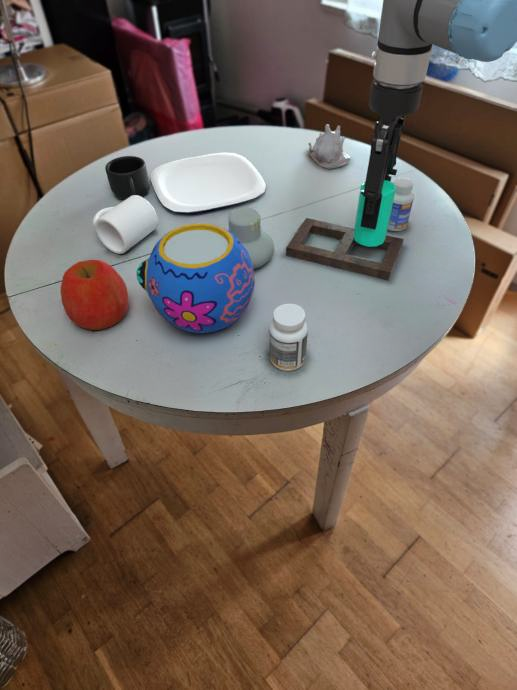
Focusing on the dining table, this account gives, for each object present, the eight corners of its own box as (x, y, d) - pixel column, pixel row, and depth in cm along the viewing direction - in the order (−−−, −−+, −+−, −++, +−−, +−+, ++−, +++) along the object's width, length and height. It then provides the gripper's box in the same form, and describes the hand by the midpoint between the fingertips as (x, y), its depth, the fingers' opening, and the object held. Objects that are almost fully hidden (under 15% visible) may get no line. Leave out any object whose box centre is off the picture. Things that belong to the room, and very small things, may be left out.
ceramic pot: (193, 272, 91) (182, 201, 80) (274, 301, 84) (274, 230, 73) (134, 328, 81) (112, 256, 70) (220, 367, 74) (211, 295, 63)
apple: (107, 286, 88) (91, 238, 80) (145, 310, 83) (132, 262, 76) (58, 317, 83) (36, 269, 75) (96, 346, 78) (76, 297, 70)
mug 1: (110, 188, 113) (102, 159, 108) (147, 181, 115) (141, 152, 110) (117, 213, 106) (109, 183, 100) (156, 205, 107) (151, 176, 102)
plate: (240, 153, 124) (239, 147, 123) (276, 200, 108) (276, 193, 106) (145, 171, 118) (143, 165, 117) (168, 224, 102) (166, 217, 101)
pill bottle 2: (399, 235, 97) (409, 192, 90) (376, 226, 100) (384, 183, 93) (411, 223, 100) (422, 181, 93) (389, 215, 103) (397, 173, 95)
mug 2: (161, 234, 99) (154, 200, 94) (129, 259, 94) (120, 224, 88) (119, 219, 104) (110, 185, 98) (86, 242, 98) (74, 208, 92)
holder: (402, 247, 95) (404, 238, 93) (388, 280, 88) (390, 272, 86) (305, 225, 101) (306, 217, 99) (286, 255, 94) (286, 247, 92)
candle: (391, 236, 90) (404, 177, 81) (373, 250, 87) (385, 190, 78) (365, 224, 92) (374, 166, 84) (347, 238, 89) (355, 179, 81)
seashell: (329, 174, 115) (332, 136, 109) (294, 158, 122) (296, 121, 115) (356, 161, 120) (361, 123, 113) (321, 146, 126) (324, 109, 119)
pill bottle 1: (286, 340, 78) (288, 295, 70) (312, 358, 75) (317, 313, 68) (262, 359, 75) (261, 314, 68) (288, 378, 72) (290, 333, 65)
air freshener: (280, 256, 93) (281, 211, 86) (260, 280, 89) (259, 235, 81) (233, 241, 97) (230, 197, 90) (211, 263, 92) (206, 218, 85)
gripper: (387, 58, 76) (366, 189, 93) (355, 99, 65) (337, 240, 82) (435, 63, 74) (404, 196, 91) (410, 107, 62) (380, 250, 79)
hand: (373, 217), depth 86 cm, fingers closed on candle, 6 cm apart
